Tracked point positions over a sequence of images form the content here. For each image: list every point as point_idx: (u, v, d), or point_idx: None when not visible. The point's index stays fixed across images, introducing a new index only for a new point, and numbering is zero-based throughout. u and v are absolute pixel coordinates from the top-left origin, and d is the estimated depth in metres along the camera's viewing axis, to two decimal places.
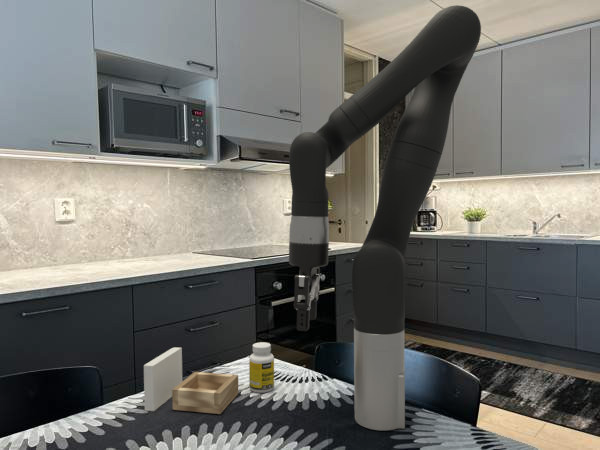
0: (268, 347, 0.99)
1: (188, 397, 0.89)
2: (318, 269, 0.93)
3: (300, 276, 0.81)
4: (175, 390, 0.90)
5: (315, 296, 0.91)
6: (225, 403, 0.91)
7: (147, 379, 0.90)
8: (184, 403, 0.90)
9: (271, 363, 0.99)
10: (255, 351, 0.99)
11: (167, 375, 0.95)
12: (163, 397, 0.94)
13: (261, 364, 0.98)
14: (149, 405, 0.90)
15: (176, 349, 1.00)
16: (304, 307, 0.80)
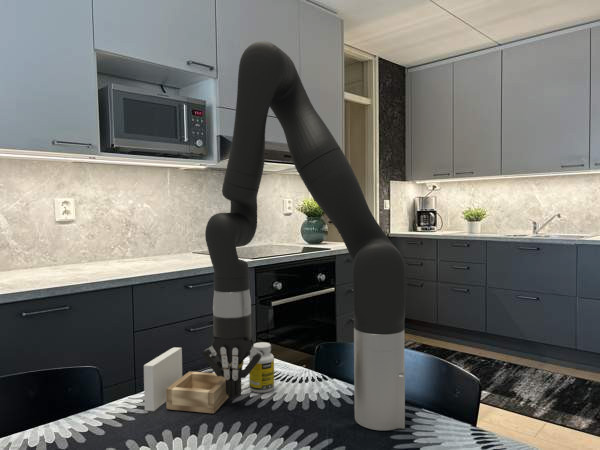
0: (268, 347, 0.99)
1: (182, 397, 0.90)
2: None
3: (261, 355, 0.91)
4: (169, 390, 0.90)
5: (233, 368, 0.94)
6: (219, 403, 0.91)
7: (147, 379, 0.90)
8: (177, 402, 0.90)
9: (271, 363, 0.99)
10: None
11: (167, 375, 0.95)
12: (163, 397, 0.94)
13: (261, 364, 0.98)
14: (149, 405, 0.90)
15: (176, 349, 1.00)
16: (249, 372, 0.93)
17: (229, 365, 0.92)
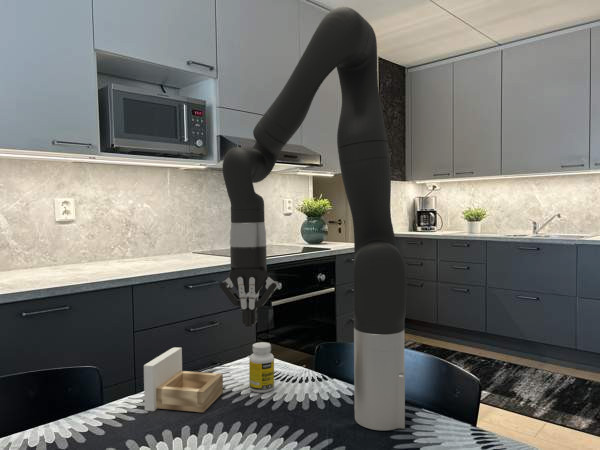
0: (268, 347, 0.99)
1: (172, 396, 0.90)
2: None
3: (277, 284, 0.95)
4: (159, 389, 0.91)
5: (249, 299, 0.97)
6: (208, 402, 0.91)
7: (147, 379, 0.90)
8: (167, 401, 0.90)
9: (271, 363, 0.99)
10: (255, 351, 0.99)
11: (167, 375, 0.95)
12: None
13: (261, 364, 0.98)
14: (149, 405, 0.90)
15: (176, 349, 1.00)
16: (264, 302, 0.97)
17: (246, 295, 0.96)
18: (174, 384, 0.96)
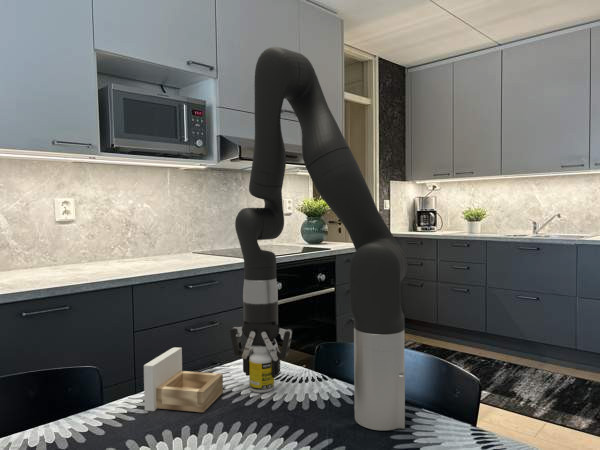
0: None
1: (172, 396, 0.90)
2: None
3: (290, 331, 0.99)
4: (159, 389, 0.91)
5: (251, 350, 1.02)
6: (208, 402, 0.91)
7: (147, 379, 0.90)
8: (167, 401, 0.90)
9: (271, 363, 0.99)
10: (255, 351, 0.99)
11: (167, 375, 0.95)
12: None
13: (261, 364, 0.98)
14: (149, 405, 0.90)
15: (176, 349, 1.00)
16: (287, 354, 1.00)
17: (250, 348, 1.00)
18: (174, 384, 0.96)
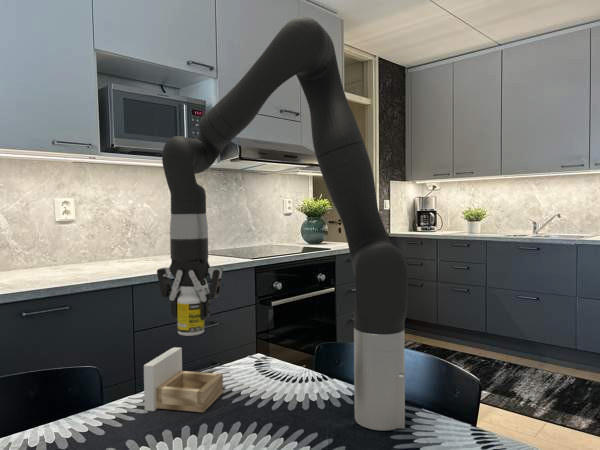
0: None
1: (172, 396, 0.90)
2: None
3: (219, 270, 0.92)
4: (159, 389, 0.91)
5: None
6: (208, 402, 0.91)
7: (147, 379, 0.90)
8: (167, 401, 0.90)
9: None
10: (182, 291, 0.92)
11: (167, 375, 0.95)
12: None
13: (188, 304, 0.91)
14: (149, 405, 0.90)
15: (176, 349, 1.00)
16: (218, 295, 0.93)
17: (179, 288, 0.93)
18: (174, 384, 0.96)
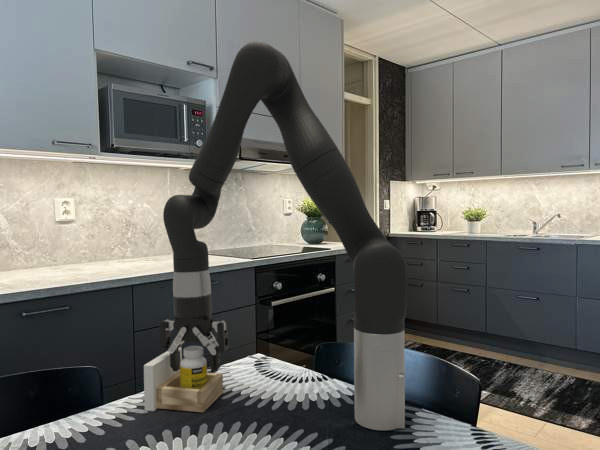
0: (199, 351, 0.93)
1: (172, 396, 0.90)
2: (171, 321, 0.96)
3: (223, 322, 0.92)
4: (159, 389, 0.91)
5: (180, 345, 0.96)
6: (208, 402, 0.91)
7: (147, 379, 0.90)
8: (167, 401, 0.90)
9: (202, 368, 0.93)
10: (185, 355, 0.93)
11: (167, 375, 0.95)
12: None
13: (191, 369, 0.92)
14: (149, 405, 0.90)
15: None
16: (227, 347, 0.93)
17: (179, 343, 0.94)
18: (174, 384, 0.96)
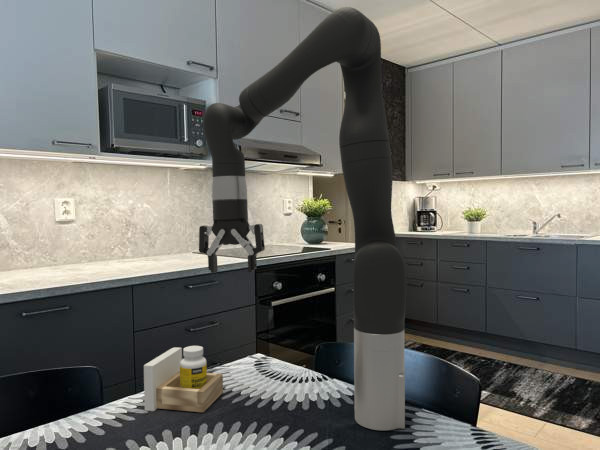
0: (199, 351, 0.93)
1: (172, 396, 0.90)
2: None
3: (259, 224, 0.98)
4: (159, 389, 0.91)
5: (217, 250, 1.02)
6: (208, 402, 0.91)
7: (147, 379, 0.90)
8: (167, 401, 0.90)
9: (202, 368, 0.93)
10: (185, 355, 0.93)
11: (167, 375, 0.95)
12: None
13: (191, 369, 0.92)
14: (149, 405, 0.90)
15: (176, 349, 1.00)
16: (263, 249, 0.99)
17: (217, 246, 0.99)
18: (174, 384, 0.96)
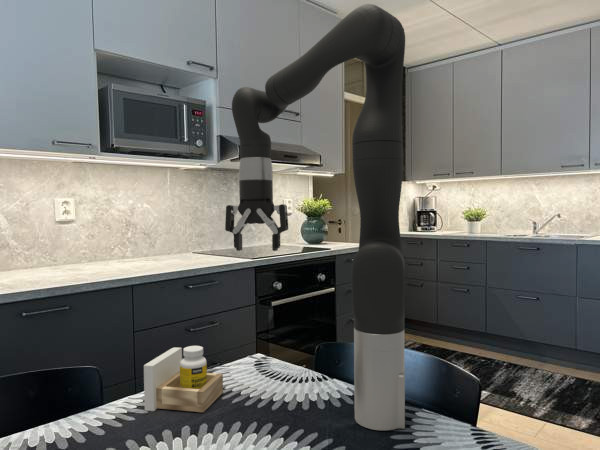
0: (199, 351, 0.93)
1: (172, 396, 0.90)
2: None
3: (284, 205, 1.02)
4: (159, 389, 0.91)
5: (242, 229, 1.06)
6: (208, 402, 0.91)
7: (147, 379, 0.90)
8: (167, 401, 0.90)
9: (202, 368, 0.93)
10: (185, 355, 0.93)
11: (167, 375, 0.95)
12: None
13: (191, 369, 0.92)
14: (149, 405, 0.90)
15: (176, 349, 1.00)
16: (287, 228, 1.03)
17: (243, 225, 1.04)
18: (174, 384, 0.96)
